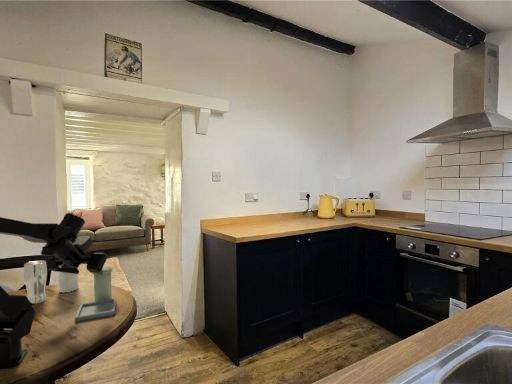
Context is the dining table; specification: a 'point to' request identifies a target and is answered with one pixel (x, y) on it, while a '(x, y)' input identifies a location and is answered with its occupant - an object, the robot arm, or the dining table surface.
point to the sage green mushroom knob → (103, 285)
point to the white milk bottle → (67, 282)
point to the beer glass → (35, 280)
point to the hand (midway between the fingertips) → (90, 273)
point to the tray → (96, 310)
